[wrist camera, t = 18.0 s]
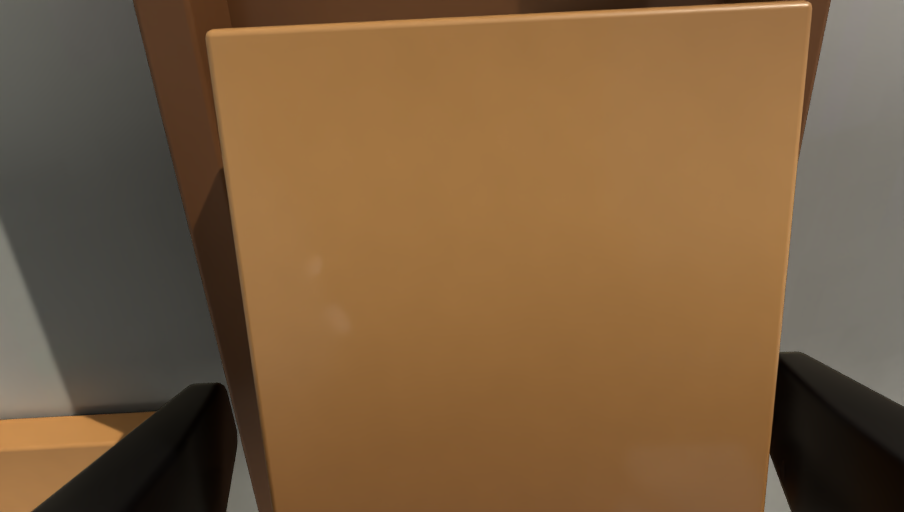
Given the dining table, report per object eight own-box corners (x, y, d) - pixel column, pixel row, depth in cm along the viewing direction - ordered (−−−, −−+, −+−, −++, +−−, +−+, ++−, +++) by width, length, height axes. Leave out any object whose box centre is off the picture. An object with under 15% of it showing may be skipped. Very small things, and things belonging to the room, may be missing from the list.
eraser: (301, 35, 9) (201, 30, 5) (653, 18, 9) (816, -1, 5) (360, 608, 12) (325, 889, 8) (633, 593, 12) (731, 864, 8)
